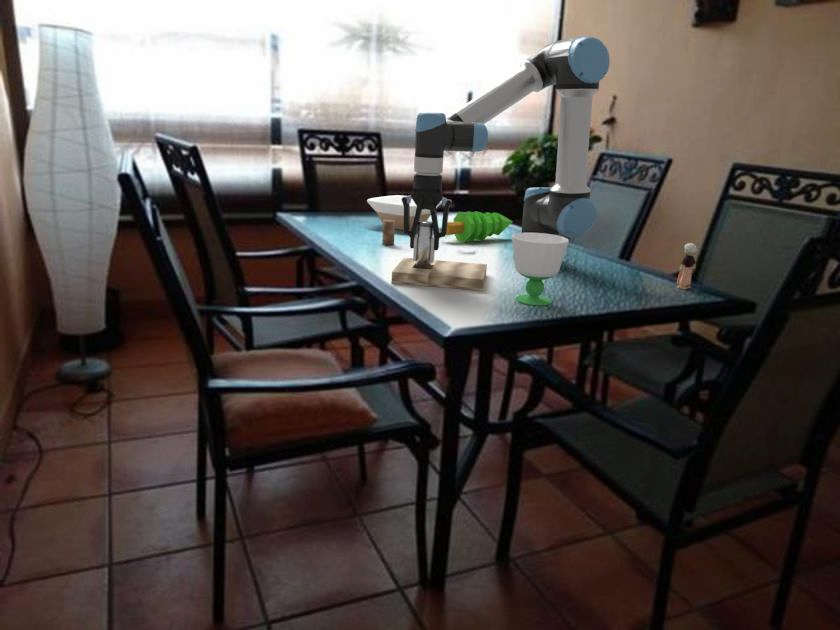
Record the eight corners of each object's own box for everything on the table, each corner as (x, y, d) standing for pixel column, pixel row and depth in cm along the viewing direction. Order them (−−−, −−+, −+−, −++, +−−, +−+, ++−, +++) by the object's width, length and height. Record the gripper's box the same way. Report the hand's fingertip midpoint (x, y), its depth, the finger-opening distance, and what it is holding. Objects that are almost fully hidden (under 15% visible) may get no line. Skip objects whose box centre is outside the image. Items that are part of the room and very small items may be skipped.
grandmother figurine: (680, 284, 182) (688, 240, 178) (694, 286, 180) (702, 242, 176) (671, 288, 176) (679, 243, 173) (685, 291, 174) (693, 246, 170)
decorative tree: (441, 206, 223) (509, 201, 237) (434, 234, 230) (500, 227, 244) (458, 223, 216) (526, 217, 230) (450, 251, 223) (517, 243, 237)
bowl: (445, 227, 254) (447, 200, 251) (412, 235, 234) (413, 206, 231) (396, 219, 266) (397, 194, 263) (360, 226, 246) (361, 199, 243)
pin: (431, 268, 176) (434, 221, 172) (429, 271, 172) (432, 224, 168) (416, 267, 177) (419, 220, 173) (414, 270, 173) (416, 223, 169)
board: (486, 274, 181) (486, 264, 181) (482, 290, 164) (483, 279, 164) (403, 267, 185) (403, 257, 184) (391, 282, 168) (391, 271, 167)
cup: (554, 294, 165) (561, 233, 160) (567, 309, 152) (575, 244, 147) (501, 292, 164) (507, 231, 159) (510, 307, 151) (517, 241, 146)
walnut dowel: (395, 243, 218) (395, 220, 215) (392, 245, 214) (393, 222, 212) (383, 242, 218) (384, 219, 216) (381, 244, 215) (381, 221, 212)
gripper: (461, 174, 169) (455, 260, 176) (398, 170, 171) (395, 255, 178) (459, 177, 162) (453, 266, 169) (393, 172, 164) (390, 261, 171)
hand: (423, 260), depth 174 cm, fingers closed on pin, 4 cm apart
